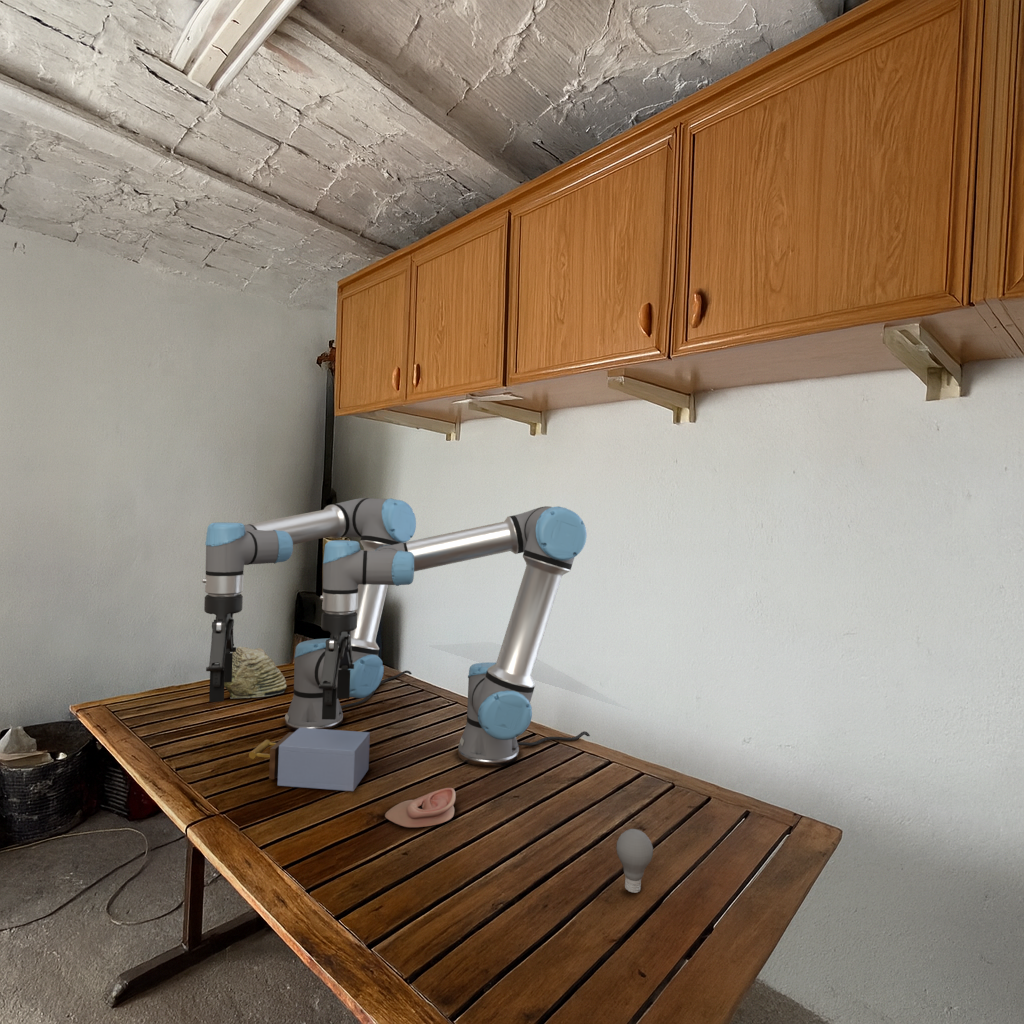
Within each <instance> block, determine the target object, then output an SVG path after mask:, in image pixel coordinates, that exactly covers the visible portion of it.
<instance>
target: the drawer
mask: <svg viewBox="0 0 1024 1024" xmlns="http://www.w3.org/2000/svg"><path fill="white" fill-rule="evenodd" d="M294 732H295V731H293V732H291V731H289V732H287V734H285V735H284V736H283V737H282V738H281V739H279V740H278V741H277V742H272V741H270V739H264V741H262V742H261V743H260V744H258V746H256V747H255V748H254V749H253V750H251V751H250V752H249V754H248V758H249V759H251V760H254V759H255V758H269V769H268V770H269V771H268V779H269V780H275V779H276V778H278V757H279V745H280V744H281V743H283V742H284V741H285V740H286V739H287V738H288V737H289V736H291V735H292V734H293V733H294ZM269 747H270V749H269V753H263V752H264V751H265V750H266V749H267V748H269Z"/></svg>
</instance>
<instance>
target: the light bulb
mask: <svg viewBox="0 0 1024 1024" xmlns="http://www.w3.org/2000/svg"><path fill="white" fill-rule="evenodd" d="M615 849H616V854H617V857H618V859H619V861H620V863H621V865H622V867H623V873H624V874H623V875H624V876H625V878H624V888H625V890H627V891H628V892H630V893H634V894H635V893H639V892H640V891H641V889H642V887H641V886H642V879H643V877H644V875H645V871H646V868H647V867H648V866H649V864H650V863H651V861H652V859H653V855H654V847H653V843H652V841H651V838H649V836H648V835H647V834H646V833H645V832H643V831H642V830H641V829H636V828H629V829H627V830H625V831H623V832H622V833H621V834H620V835H619V837H618V839H617V841H616V847H615Z"/></svg>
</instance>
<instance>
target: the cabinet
mask: <svg viewBox="0 0 1024 1024" xmlns="http://www.w3.org/2000/svg"><path fill="white" fill-rule="evenodd" d="M293 732H294V733H293V734H292V735H291V736H289V737H288V738H287V739H286V740H285V741H284V742H283V743H281V744H280V745H279V757H278V776H277V786H279V787H291V788H292V787H293V788H304V789H305V788H306V789H320V790H331V791H344V792H354V791H355V789H356V788H357V787H358V786H359V784H360V782H361V781H362V779H363V778H364V777H365V776H366V773H367V772H368V771H369V769H370V768H369V766H370V765H369V764H370V740H371V739H370V738H371V733H370V731H355V730H343V729H342V730H341V729H314V728H299V729H297V730H296V731H295V730H294V731H293Z"/></svg>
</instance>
